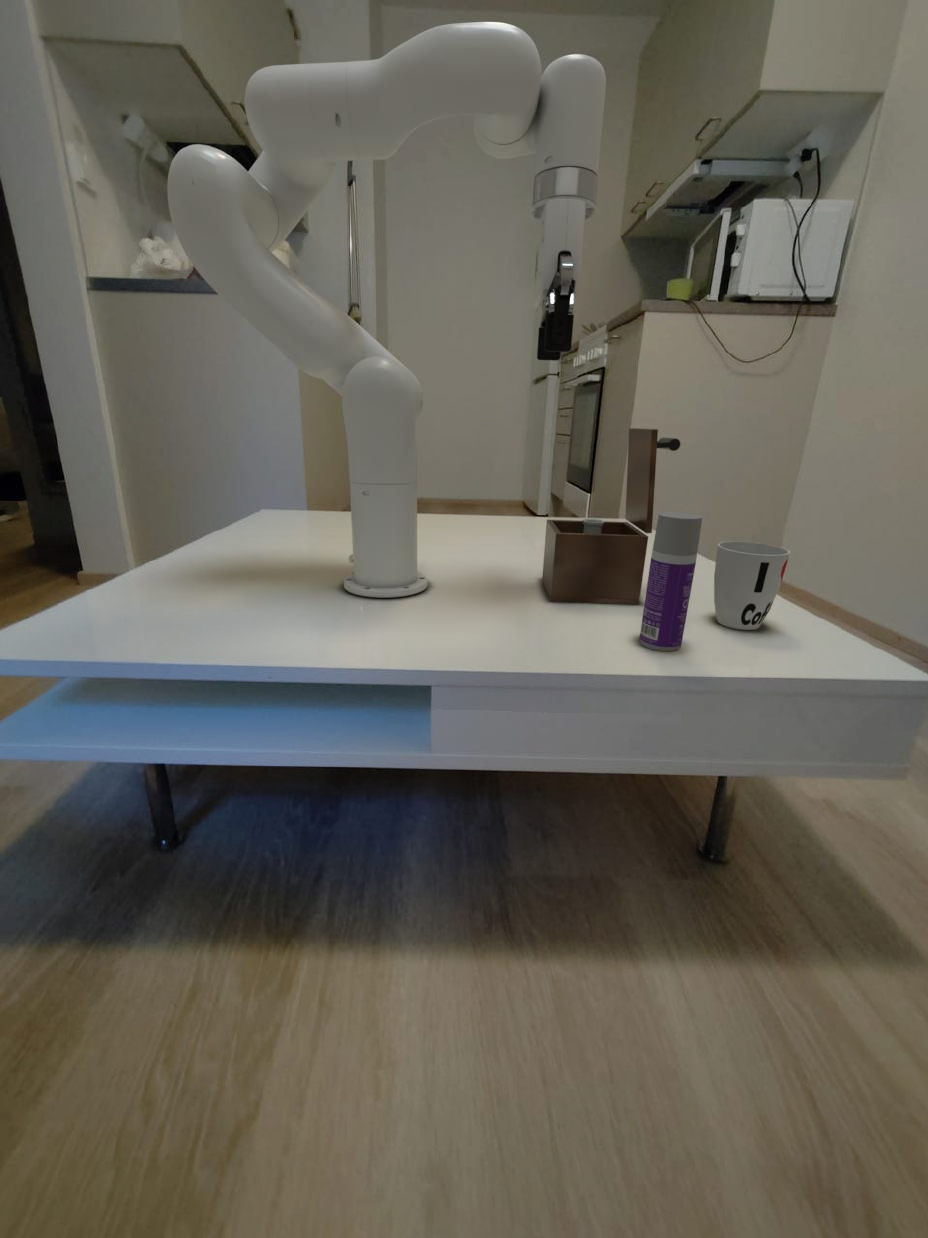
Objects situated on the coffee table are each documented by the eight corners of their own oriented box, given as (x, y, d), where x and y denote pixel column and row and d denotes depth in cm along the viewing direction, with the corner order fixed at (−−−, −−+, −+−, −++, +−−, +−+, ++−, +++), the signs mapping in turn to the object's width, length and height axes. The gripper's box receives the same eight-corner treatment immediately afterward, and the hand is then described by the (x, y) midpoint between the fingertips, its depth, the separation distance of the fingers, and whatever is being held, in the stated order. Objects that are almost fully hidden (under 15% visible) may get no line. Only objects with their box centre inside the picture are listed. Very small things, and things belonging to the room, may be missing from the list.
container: (684, 653, 61) (708, 519, 56) (641, 649, 62) (660, 517, 57) (677, 638, 66) (699, 513, 61) (637, 634, 67) (655, 510, 61)
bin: (550, 601, 78) (556, 533, 75) (542, 579, 89) (546, 519, 86) (638, 604, 78) (648, 536, 75) (619, 582, 89) (627, 521, 85)
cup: (744, 638, 66) (761, 557, 63) (690, 617, 73) (703, 543, 70) (786, 628, 70) (804, 551, 67) (731, 609, 77) (745, 539, 73)
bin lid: (651, 429, 70) (690, 427, 70) (629, 428, 81) (662, 426, 81) (645, 533, 74) (682, 531, 74) (625, 519, 85) (657, 517, 85)
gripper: (527, 223, 74) (519, 362, 80) (539, 166, 58) (529, 346, 63) (583, 224, 74) (571, 363, 80) (611, 167, 57) (594, 348, 63)
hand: (552, 355), depth 71 cm, fingers open, 9 cm apart
